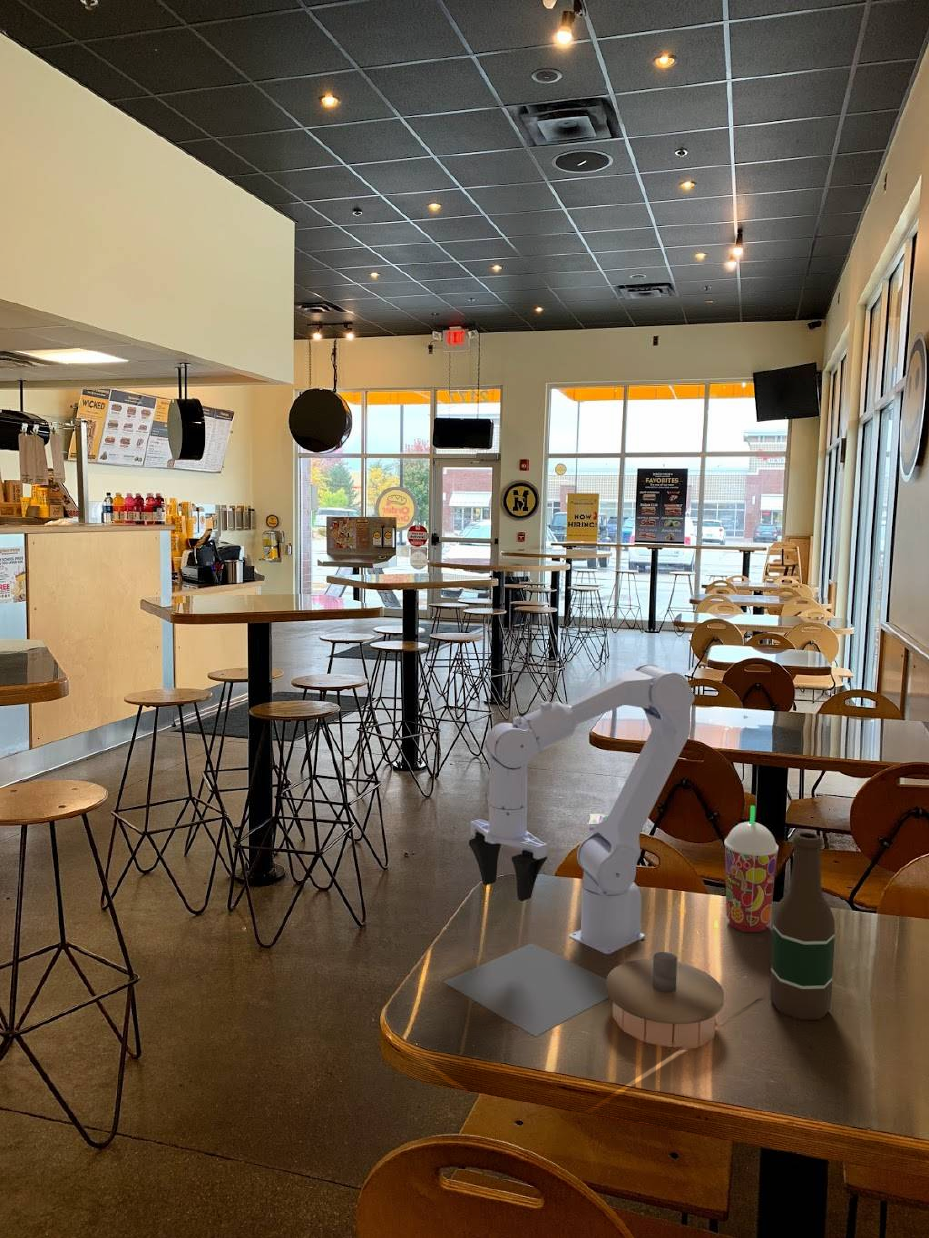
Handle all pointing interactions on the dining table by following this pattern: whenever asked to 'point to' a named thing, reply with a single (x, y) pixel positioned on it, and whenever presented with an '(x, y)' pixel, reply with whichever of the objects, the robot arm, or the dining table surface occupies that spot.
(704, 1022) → the bowl
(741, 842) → the smoothie
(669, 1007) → the lid
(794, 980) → the beer bottle
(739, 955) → the dining table surface
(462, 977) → the mat
